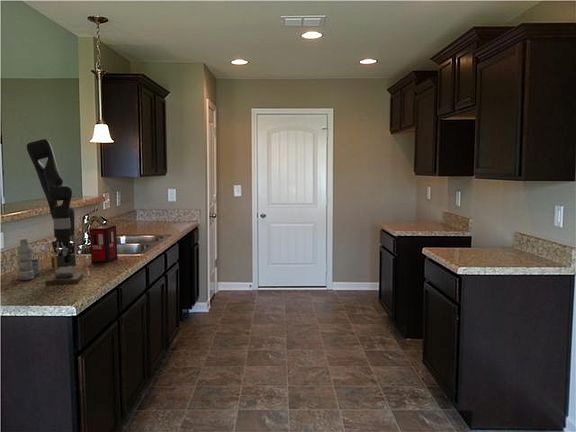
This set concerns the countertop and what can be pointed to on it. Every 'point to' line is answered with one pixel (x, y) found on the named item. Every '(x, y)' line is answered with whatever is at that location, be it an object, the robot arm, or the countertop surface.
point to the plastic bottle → (25, 260)
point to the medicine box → (35, 267)
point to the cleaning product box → (103, 244)
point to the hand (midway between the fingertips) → (64, 262)
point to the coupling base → (64, 279)
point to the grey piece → (63, 266)
